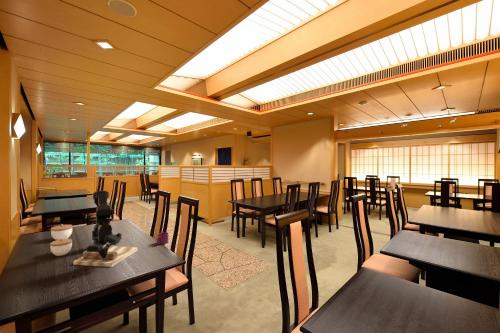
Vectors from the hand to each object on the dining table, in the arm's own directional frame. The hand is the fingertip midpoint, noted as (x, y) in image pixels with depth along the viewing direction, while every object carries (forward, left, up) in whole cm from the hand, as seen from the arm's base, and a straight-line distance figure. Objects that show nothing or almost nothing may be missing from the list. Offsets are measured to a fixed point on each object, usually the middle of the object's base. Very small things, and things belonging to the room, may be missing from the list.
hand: (104, 258), depth 127 cm
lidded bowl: (-63, +37, -4) cm, 73 cm away
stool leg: (-6, +4, -1) cm, 7 cm away
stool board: (-6, +11, -4) cm, 13 cm away
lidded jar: (-38, +12, -4) cm, 40 cm away
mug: (+15, +37, -4) cm, 40 cm away
